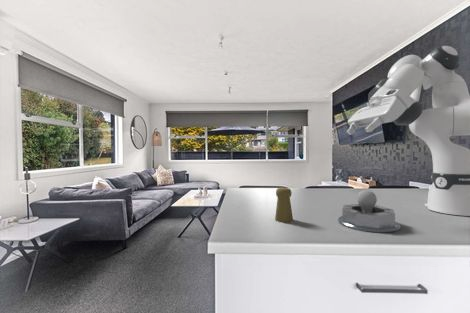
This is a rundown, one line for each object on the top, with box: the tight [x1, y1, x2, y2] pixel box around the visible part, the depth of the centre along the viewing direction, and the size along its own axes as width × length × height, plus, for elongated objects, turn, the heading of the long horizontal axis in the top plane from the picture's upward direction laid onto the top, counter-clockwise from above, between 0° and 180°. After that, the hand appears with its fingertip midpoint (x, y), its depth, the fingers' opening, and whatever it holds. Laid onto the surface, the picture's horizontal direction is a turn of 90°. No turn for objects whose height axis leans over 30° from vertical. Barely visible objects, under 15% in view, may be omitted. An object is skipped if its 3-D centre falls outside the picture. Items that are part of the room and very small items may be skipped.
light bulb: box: [356, 189, 378, 213], centre depth 74 cm, size 6×6×10 cm
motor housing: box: [337, 203, 401, 234], centre depth 74 cm, size 17×17×5 cm
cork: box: [274, 187, 294, 224], centre depth 79 cm, size 6×6×11 cm
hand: (357, 132), depth 77 cm, fingers open, 8 cm apart
